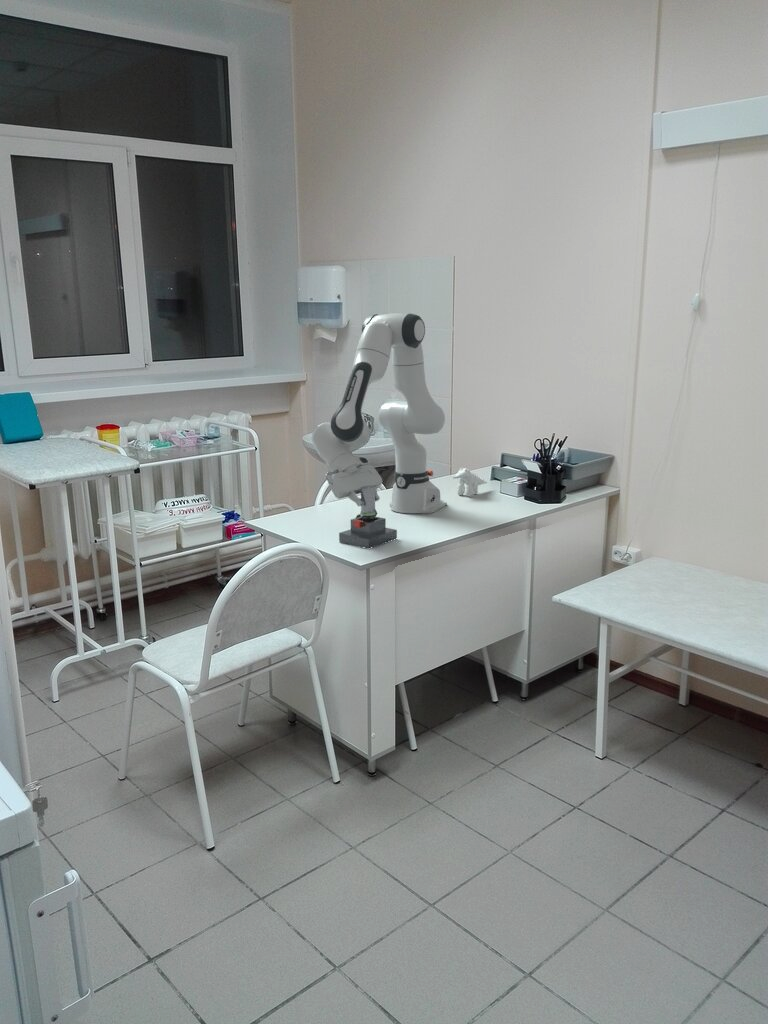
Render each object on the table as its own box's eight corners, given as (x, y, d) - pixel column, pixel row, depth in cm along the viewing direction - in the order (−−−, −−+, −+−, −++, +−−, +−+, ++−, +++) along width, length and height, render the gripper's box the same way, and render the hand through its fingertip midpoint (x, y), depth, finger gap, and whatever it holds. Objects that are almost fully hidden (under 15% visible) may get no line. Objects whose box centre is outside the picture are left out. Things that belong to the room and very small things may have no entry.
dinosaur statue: (444, 496, 313) (446, 467, 311) (479, 492, 331) (482, 465, 329) (459, 499, 309) (461, 470, 307) (493, 494, 327) (496, 467, 325)
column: (367, 527, 260) (366, 485, 257) (378, 530, 257) (378, 487, 254) (357, 531, 257) (357, 487, 253) (369, 533, 254) (368, 489, 250)
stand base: (367, 532, 267) (367, 510, 265) (396, 538, 259) (396, 516, 258) (339, 542, 256) (338, 518, 254) (368, 548, 249) (368, 525, 247)
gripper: (328, 466, 248) (353, 502, 245) (371, 457, 264) (395, 491, 260) (317, 479, 252) (342, 514, 248) (360, 469, 267) (384, 502, 264)
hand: (369, 502), depth 254 cm, fingers open, 6 cm apart
